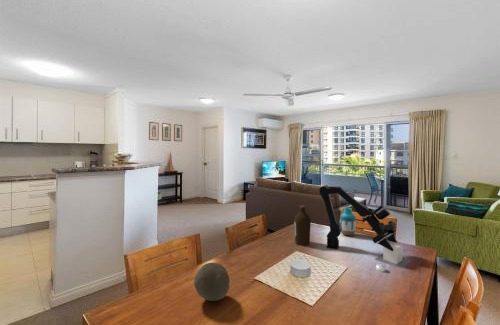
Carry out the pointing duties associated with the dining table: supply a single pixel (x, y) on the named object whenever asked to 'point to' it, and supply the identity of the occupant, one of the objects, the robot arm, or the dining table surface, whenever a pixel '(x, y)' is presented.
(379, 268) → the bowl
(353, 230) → the vase
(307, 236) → the olive oil
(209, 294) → the dark grey ball
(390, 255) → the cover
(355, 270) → the dining table surface
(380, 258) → the grey square tile
